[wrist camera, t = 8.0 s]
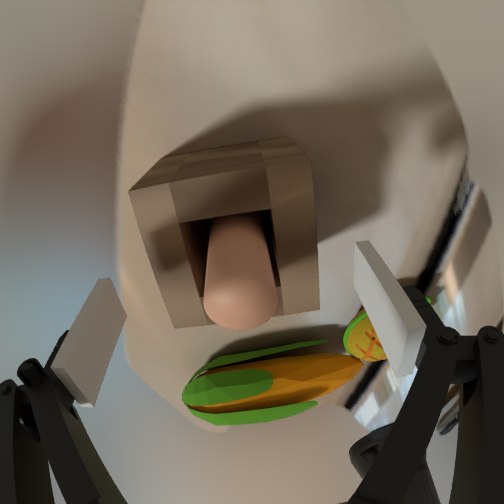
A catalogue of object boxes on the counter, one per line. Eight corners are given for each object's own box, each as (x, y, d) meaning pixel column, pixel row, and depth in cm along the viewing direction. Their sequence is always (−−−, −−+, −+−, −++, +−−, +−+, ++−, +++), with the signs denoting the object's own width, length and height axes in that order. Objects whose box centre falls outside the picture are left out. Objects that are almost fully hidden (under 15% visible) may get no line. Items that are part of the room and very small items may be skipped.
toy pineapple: (329, 308, 31) (342, 345, 27) (416, 267, 30) (441, 299, 25) (346, 348, 34) (358, 383, 30) (424, 312, 33) (444, 343, 28)
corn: (164, 412, 27) (375, 371, 25) (172, 353, 34) (352, 313, 32) (194, 440, 31) (372, 407, 29) (197, 388, 38) (355, 354, 36)
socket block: (300, 251, 28) (319, 309, 21) (188, 267, 28) (174, 328, 21) (289, 137, 23) (311, 160, 16) (160, 158, 24) (128, 191, 17)
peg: (260, 222, 27) (281, 324, 16) (217, 229, 27) (212, 334, 16) (254, 181, 25) (273, 266, 14) (209, 189, 25) (195, 279, 15)
